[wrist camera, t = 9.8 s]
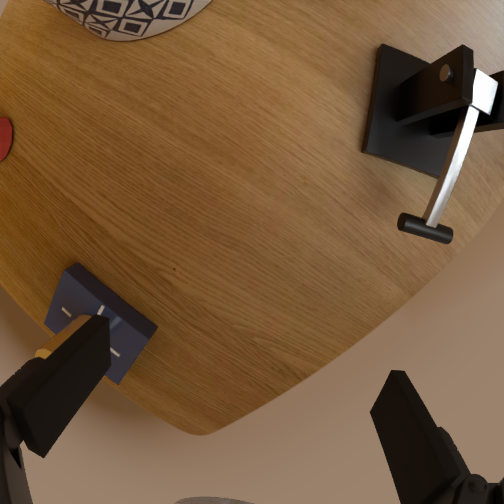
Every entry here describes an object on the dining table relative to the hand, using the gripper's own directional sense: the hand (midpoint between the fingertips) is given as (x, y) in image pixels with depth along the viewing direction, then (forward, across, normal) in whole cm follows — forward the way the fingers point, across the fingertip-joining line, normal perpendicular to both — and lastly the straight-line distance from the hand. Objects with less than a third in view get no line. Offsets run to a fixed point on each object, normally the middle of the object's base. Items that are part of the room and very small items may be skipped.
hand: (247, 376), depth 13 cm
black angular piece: (+18, +13, +18) cm, 29 cm away
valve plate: (+18, -17, -11) cm, 27 cm away
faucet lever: (+10, +13, +14) cm, 21 cm away
